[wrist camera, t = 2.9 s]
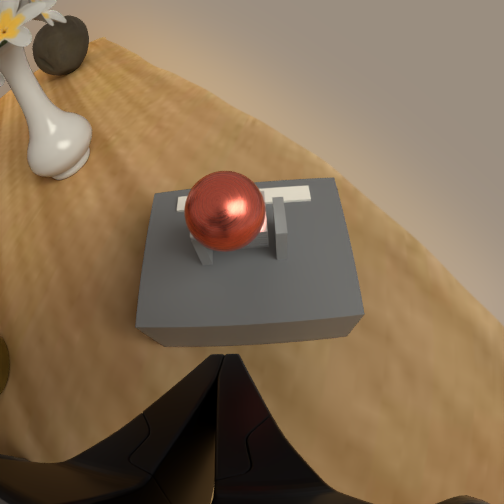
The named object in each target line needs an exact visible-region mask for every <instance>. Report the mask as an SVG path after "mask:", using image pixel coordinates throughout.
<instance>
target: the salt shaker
mask: <svg viewBox="0 0 504 504" xmlns="http://www.w3.org/2000/svg"><path fill="white" fill-rule="evenodd" d="M8 374H9V355H8V350H7V347H6V344H5V342H4V340H3V338H2V337H1V336H0V394H1V393H2V391H3V390H4V388H5V385H6V382H7V379H8Z"/></svg>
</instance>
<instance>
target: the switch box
mask: <svg viewBox="0 0 504 504" xmlns="http://www.w3.org/2000/svg"><path fill="white" fill-rule="evenodd" d="M255 184H256V186H257V187H258V188H259V190H260V191H264V194H265V205H266V216H267V228H268V241H269V247H259V248H246V249H239V250H235V251H230V252H220V251H214V250H211V249H209V248H206V247H205V246H203V245H201V244H200V243H199V242H198V241H196V240H194V239H192V238H190V231H189V229H188V227H187V224H186V221H185V215H184V209H185V202H186V199H187V196H188V194H189V192H190V190H191V189H186V190H178V191H171V192H163V193H156V194H155V195H154V200H153V205H152V210H151V216H150V221H149V227H148V233H147V239H146V245H145V252H144V258H143V265H142V272H141V280H140V288H139V297H138V306H137V315H136V326H135V327H136V328H137V329H138V330H140V331H141V332H143V333H144V334H146V335H147V336H149V337H150V338H152V339H153V340H155V341H157V342H158V343H160V344H161V345H163V346H164V347H196V346H233V345H254V344H271V343H285V342H297V341H308V340H318V339H328V338H337V337H345V336H347V335H348V334H349V333H350V332H351V330H352V329H353V328H354V327H355V325H356V324H357V323H358V322H359V320H360V319H361V318H362V317H363V315H364V309H363V303H362V298H361V292H360V287H359V282H358V276H357V271H356V267H355V262H354V257H353V252H352V248H351V243H350V239H349V234H348V230H347V226H346V222H345V218H344V214H343V210H342V206H341V202H340V198H339V194H338V190H337V187H336V183H335V179H334V178H315V179H297V180H282V181H268V182H255Z"/></svg>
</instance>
